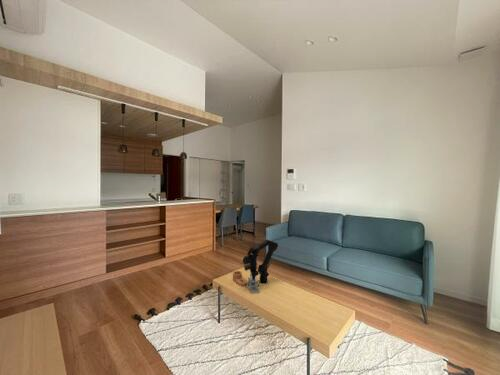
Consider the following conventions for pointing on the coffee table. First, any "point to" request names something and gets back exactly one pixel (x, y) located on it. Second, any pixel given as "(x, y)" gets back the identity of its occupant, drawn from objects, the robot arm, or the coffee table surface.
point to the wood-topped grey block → (254, 280)
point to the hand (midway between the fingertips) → (253, 278)
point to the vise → (252, 283)
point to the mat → (254, 291)
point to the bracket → (239, 278)
